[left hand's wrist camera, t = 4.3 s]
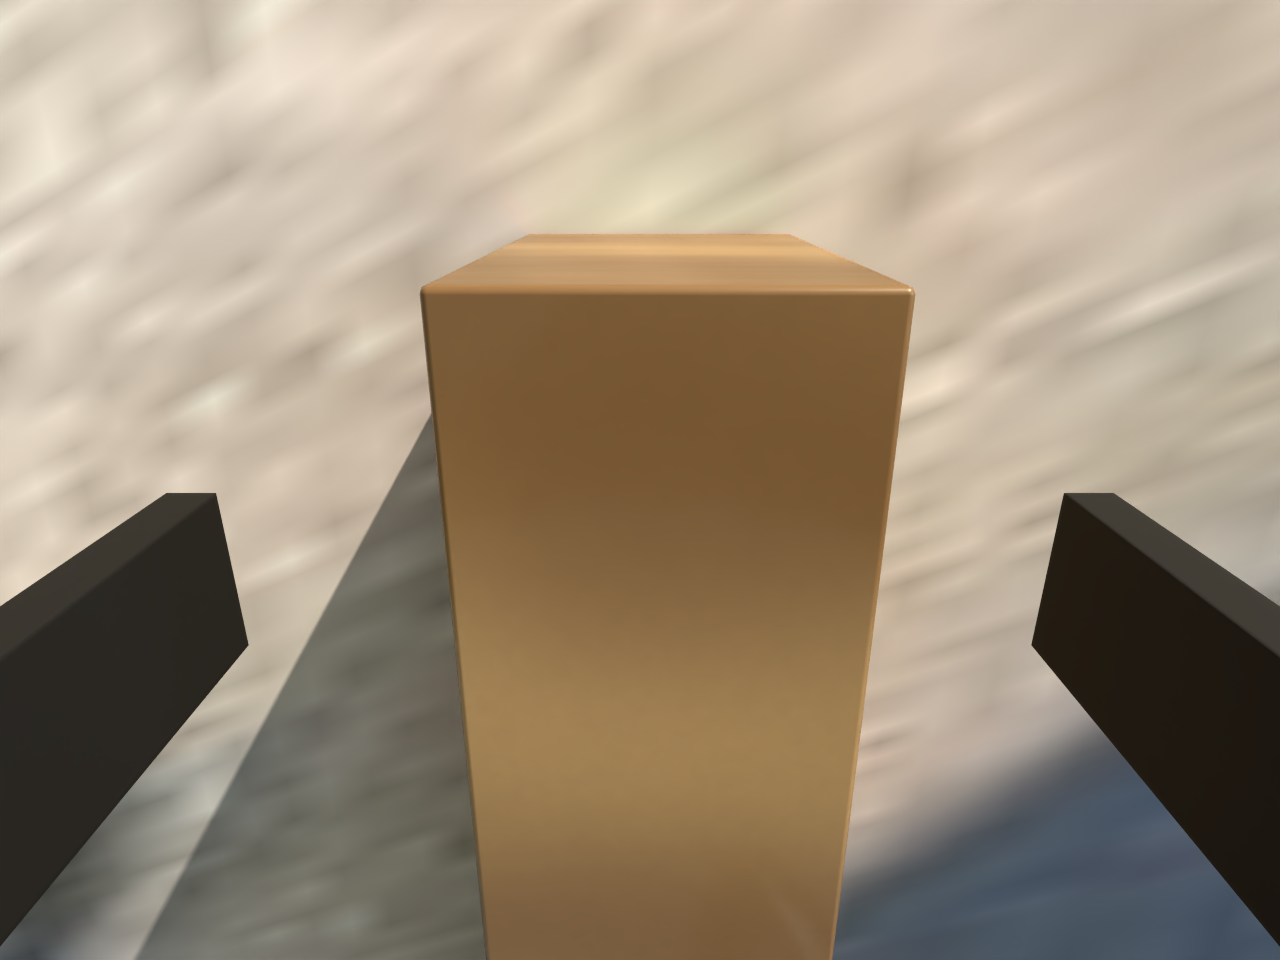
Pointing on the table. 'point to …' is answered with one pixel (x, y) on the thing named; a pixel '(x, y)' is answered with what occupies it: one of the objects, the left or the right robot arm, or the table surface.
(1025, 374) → the table surface
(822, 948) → the beam
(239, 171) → the table surface
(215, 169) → the table surface
